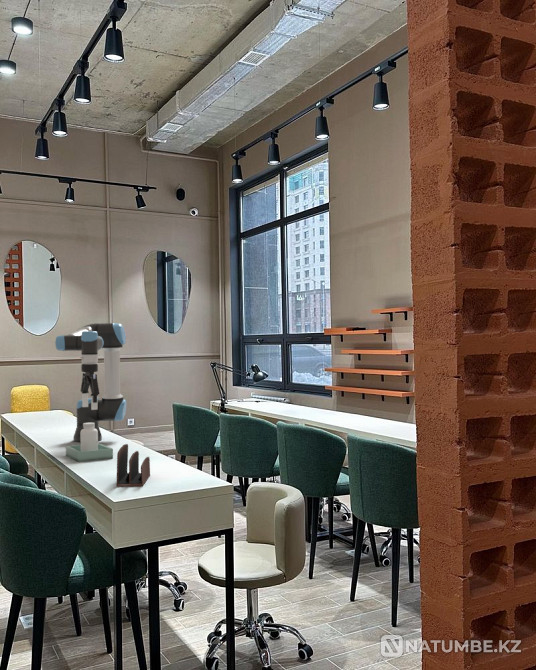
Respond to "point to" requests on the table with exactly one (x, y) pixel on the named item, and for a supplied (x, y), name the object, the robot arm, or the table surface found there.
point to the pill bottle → (89, 437)
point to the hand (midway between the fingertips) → (89, 408)
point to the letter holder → (131, 469)
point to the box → (89, 453)
